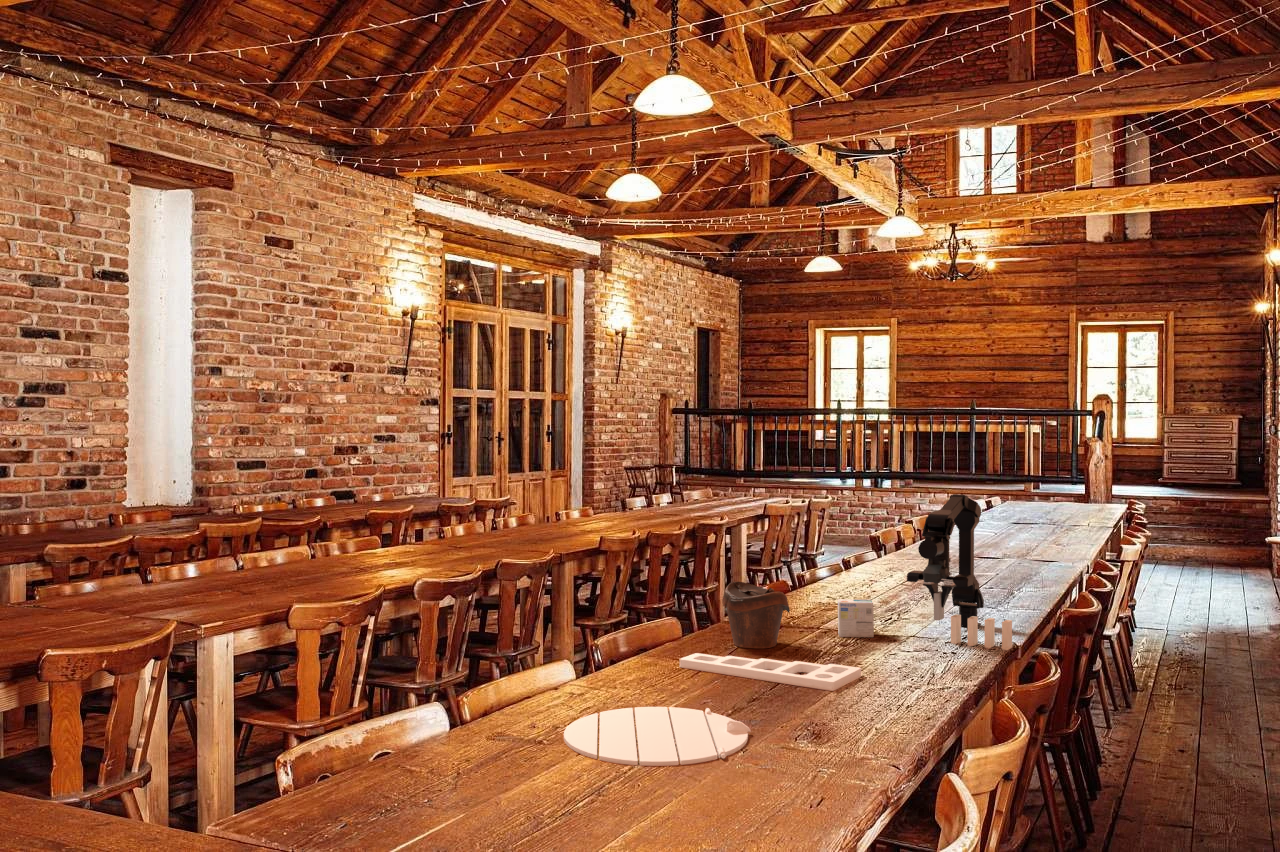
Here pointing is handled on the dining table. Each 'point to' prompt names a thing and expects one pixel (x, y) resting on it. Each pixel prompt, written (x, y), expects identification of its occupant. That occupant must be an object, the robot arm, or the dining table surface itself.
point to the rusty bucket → (754, 614)
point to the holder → (775, 670)
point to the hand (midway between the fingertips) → (939, 607)
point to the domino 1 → (938, 606)
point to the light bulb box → (855, 618)
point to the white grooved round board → (656, 736)
